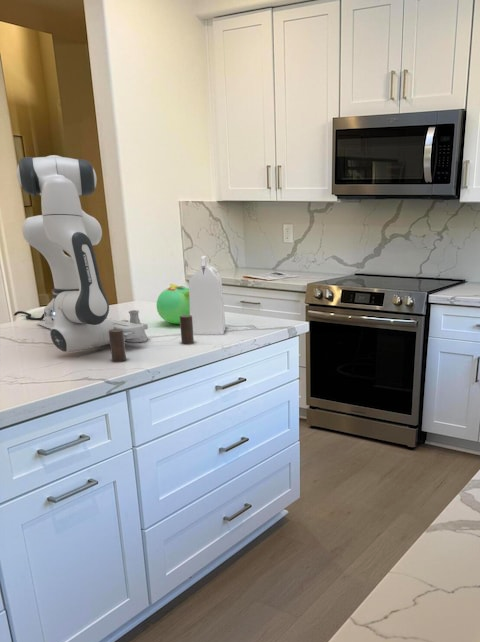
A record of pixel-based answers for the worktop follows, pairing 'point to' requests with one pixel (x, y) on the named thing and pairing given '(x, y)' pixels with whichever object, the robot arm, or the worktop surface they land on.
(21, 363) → the worktop surface
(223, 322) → the milk
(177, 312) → the toy bird
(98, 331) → the robot arm
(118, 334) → the walnut peg front
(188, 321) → the walnut peg back
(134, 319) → the flask
